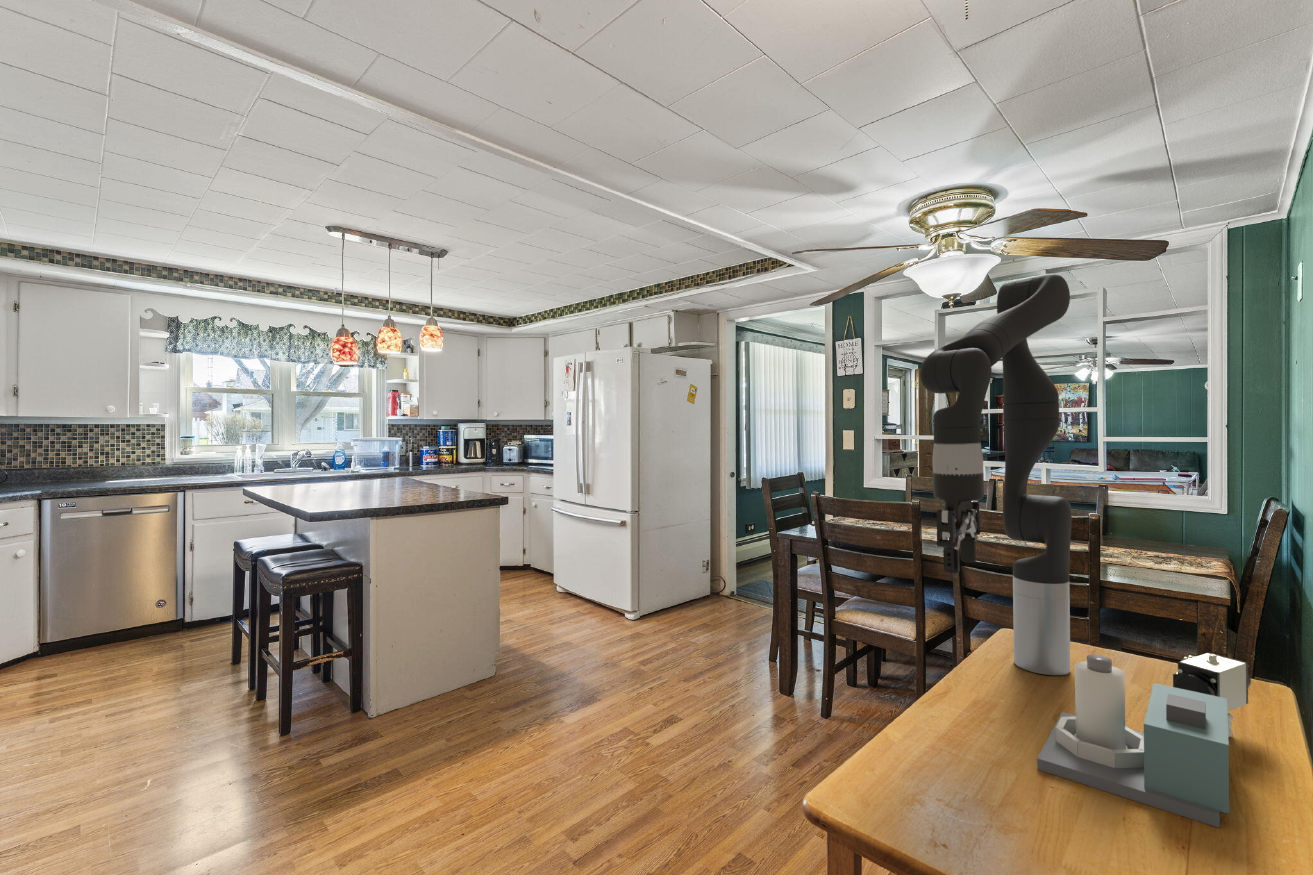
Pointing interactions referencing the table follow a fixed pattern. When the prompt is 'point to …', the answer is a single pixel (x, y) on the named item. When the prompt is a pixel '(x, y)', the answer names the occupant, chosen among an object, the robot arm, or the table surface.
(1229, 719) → the pneumatic valve
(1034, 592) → the robot arm
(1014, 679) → the table surface
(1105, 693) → the bottle
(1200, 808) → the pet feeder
